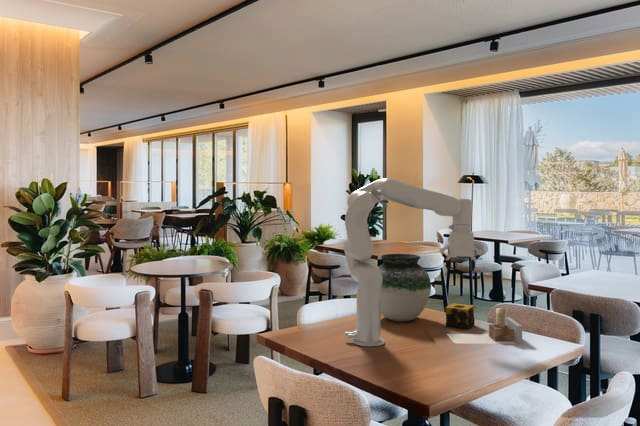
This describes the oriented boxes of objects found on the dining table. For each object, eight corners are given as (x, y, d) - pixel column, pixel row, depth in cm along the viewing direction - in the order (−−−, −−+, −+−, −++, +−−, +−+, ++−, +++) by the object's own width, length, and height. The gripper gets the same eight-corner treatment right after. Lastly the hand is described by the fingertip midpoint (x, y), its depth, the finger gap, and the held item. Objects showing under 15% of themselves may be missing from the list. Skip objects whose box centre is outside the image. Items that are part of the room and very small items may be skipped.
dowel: (497, 339, 205) (497, 309, 204) (495, 337, 208) (495, 308, 207) (505, 339, 205) (506, 309, 204) (503, 337, 208) (503, 308, 207)
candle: (475, 327, 228) (475, 305, 228) (468, 332, 220) (468, 309, 219) (452, 324, 233) (452, 302, 233) (445, 329, 225) (445, 306, 225)
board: (454, 345, 200) (454, 325, 199) (446, 336, 214) (446, 317, 213) (522, 346, 199) (522, 325, 199) (509, 336, 213) (509, 317, 213)
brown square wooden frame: (494, 341, 203) (494, 328, 202) (488, 336, 210) (488, 324, 210) (513, 341, 202) (514, 328, 202) (507, 336, 210) (507, 324, 210)
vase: (416, 329, 224) (417, 261, 223) (359, 321, 240) (359, 256, 239) (439, 317, 248) (440, 254, 247) (386, 310, 264) (386, 251, 263)
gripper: (442, 228, 209) (440, 270, 209) (485, 229, 208) (483, 272, 208) (438, 227, 216) (437, 268, 216) (480, 228, 215) (478, 269, 216)
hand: (460, 270), depth 212 cm, fingers open, 9 cm apart
